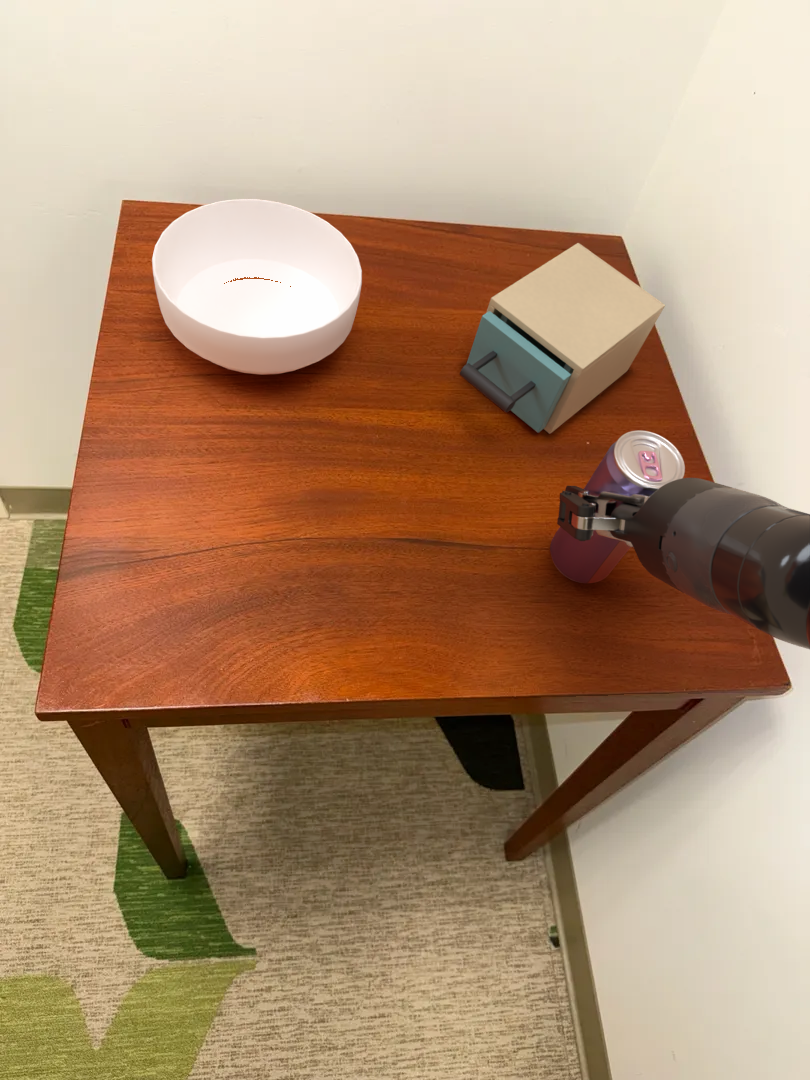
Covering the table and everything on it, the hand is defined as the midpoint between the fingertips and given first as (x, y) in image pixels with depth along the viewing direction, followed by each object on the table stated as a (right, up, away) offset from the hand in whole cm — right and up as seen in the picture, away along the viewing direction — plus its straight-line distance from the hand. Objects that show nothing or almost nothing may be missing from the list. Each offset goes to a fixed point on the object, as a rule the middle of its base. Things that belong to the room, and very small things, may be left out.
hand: (604, 498), depth 65 cm
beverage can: (-1, -5, +5) cm, 8 cm away
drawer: (-4, +13, +16) cm, 21 cm away
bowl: (-32, +18, +15) cm, 40 cm away
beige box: (-1, +15, +19) cm, 24 cm away
